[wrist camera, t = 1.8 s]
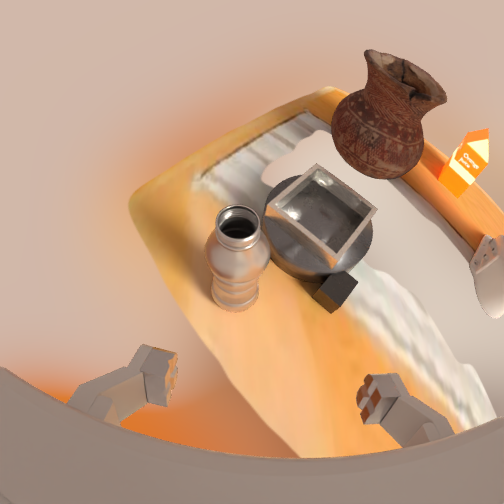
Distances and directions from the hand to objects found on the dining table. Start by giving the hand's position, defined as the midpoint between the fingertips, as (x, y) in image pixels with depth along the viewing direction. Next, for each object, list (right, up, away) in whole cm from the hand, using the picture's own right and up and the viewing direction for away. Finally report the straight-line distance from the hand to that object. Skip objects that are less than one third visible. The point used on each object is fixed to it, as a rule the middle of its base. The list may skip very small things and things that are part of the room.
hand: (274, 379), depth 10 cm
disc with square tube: (+10, +8, +36) cm, 38 cm away
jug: (+26, +27, +47) cm, 60 cm away
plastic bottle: (-3, -1, +30) cm, 30 cm away
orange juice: (+53, +24, +47) cm, 75 cm away
